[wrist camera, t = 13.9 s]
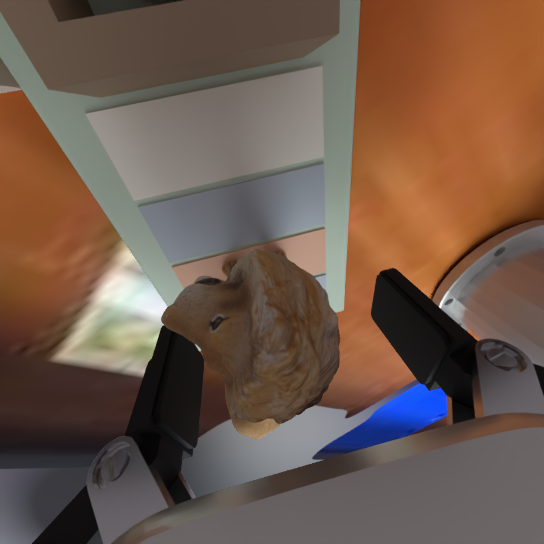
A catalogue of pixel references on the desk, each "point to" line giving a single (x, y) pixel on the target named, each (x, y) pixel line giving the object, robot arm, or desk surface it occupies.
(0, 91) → the ivory die
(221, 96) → the game board
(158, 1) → the dome button
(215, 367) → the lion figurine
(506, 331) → the robot arm
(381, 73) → the desk surface
